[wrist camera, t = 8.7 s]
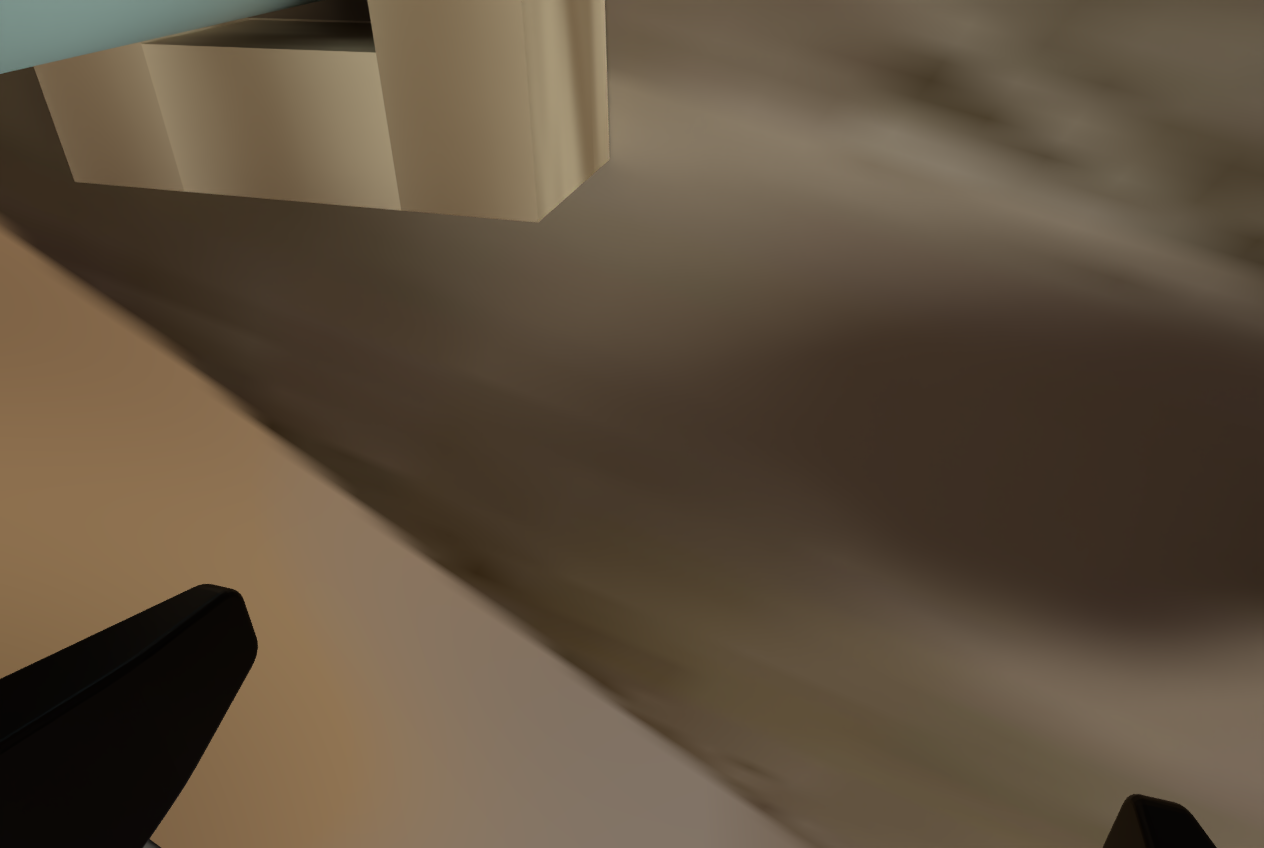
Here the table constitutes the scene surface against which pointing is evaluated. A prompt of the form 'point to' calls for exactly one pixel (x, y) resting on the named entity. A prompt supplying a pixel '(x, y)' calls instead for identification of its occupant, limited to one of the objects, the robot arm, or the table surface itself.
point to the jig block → (351, 106)
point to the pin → (107, 24)
